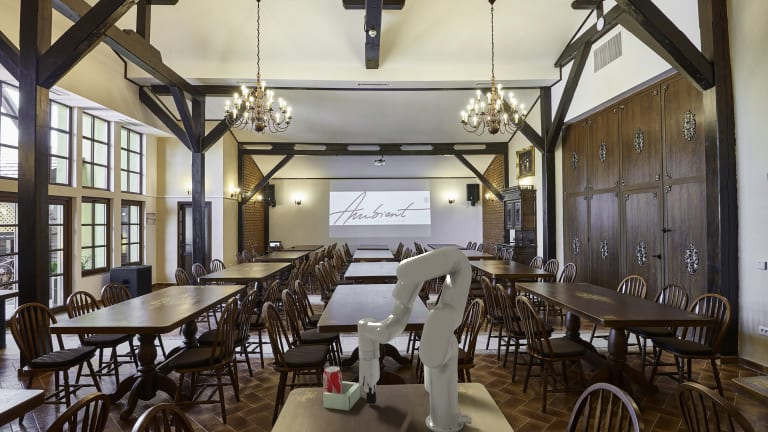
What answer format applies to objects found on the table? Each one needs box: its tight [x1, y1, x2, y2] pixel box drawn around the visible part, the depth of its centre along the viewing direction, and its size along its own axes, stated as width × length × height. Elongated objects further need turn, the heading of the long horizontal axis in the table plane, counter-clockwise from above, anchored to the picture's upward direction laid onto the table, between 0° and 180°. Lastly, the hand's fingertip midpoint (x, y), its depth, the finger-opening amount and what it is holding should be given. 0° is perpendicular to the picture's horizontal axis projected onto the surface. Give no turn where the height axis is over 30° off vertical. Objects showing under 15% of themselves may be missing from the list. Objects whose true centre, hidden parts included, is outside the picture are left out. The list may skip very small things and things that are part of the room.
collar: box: [322, 380, 362, 411], centre depth 154 cm, size 10×12×5 cm
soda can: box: [322, 365, 343, 394], centre depth 156 cm, size 7×7×12 cm
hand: (371, 402), depth 151 cm, fingers closed
